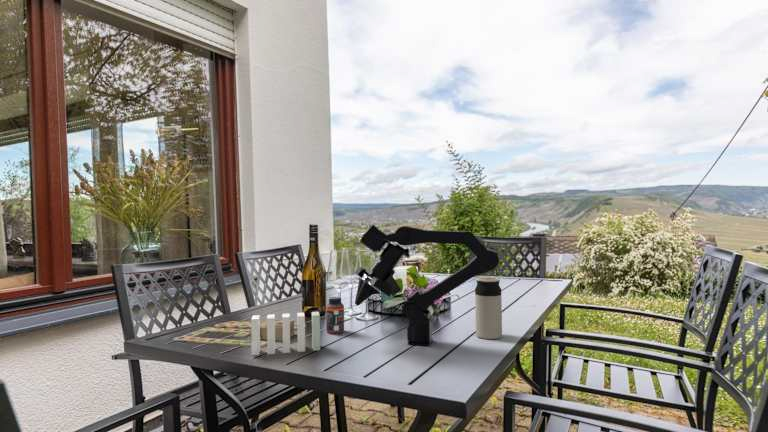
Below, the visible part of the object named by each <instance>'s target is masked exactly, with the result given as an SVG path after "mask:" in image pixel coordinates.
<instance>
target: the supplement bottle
mask: <svg viewBox="0 0 768 432" xmlns="http://www.w3.org/2000/svg"><path fill="white" fill-rule="evenodd" d="M325 321H326V322H325V325H326V326H325V328H326V333H328V334H333V335H335V334H341V333H342V334H343V332H344V331H345V305H344V304H343V303H342V297H341V296H331V297H329V298H328V304H326V305H325Z"/></svg>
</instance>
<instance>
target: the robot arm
mask: <svg viewBox="0 0 768 432" xmlns="http://www.w3.org/2000/svg"><path fill="white" fill-rule="evenodd" d="M392 242H393V243H397V244H393V243H392ZM359 243H360V244H362V245H363V246H365V247H366V248H367V249H369V250H370V251H372V252H373V253H376V252H378V253H380V255H379V256H378V257H374V259H373V264H372V265H371V267H370V268H367V269H366V268H364V267H362V266H361V267H360V266H359V267H357V269H356V270H355V271H354V273H355V274H356V275H357V276H358V284H357V291H356V295H355V300H354V304H355V305H356V306H360V305H361V304H362V303H363V302H365V301H366V300H368V298H370V297H371V296H373V295H380V294H382V293H383V294H384V295H386V297H388V298H390V297H391V296H392V297H394V296H396V295H397V294H398V293H400V292H401V291H402V289H401V287H400V286H399V284H398V282H397V280H396V279H395V278H394V275H395V273H396V272H395V270H394V269H395V267H396V266H397V265H398V263H399V262H400V260H401V259H402V258H403V257H405V258H406V259H409V258H410V256H411V255H410V248H404V247H405V246H412V245H421V244H425V243H427V244H429V243H430V244H432V243H433V244H453V245H454V244H456V245H465V246H466V247H467V248H468V249H469V250H470V251H471V252H472V253H473V255H475V256H474V257H473V258H472V259H471V260H470V261H469V262H468V263H467V264H466V265H464V266H462V267H461V268H460V269H458V270H456V271H455V272H454V273H452V274H451V275H449V276H447V277H446V278H444V279H443V280H441V281H440V282H438V283H437V284H435V285H433V286H432V287H430V288H428V289H427V290H424V291H421V289H420V287H419V288H417V289H416V291H414V292H413V293H410V294H408V295H407V297H406V300H405V301H404V303H403V305H402V312H403V315H404V316H405V317H406V318H408V320H409V321H408V326H407V327H406V333H407V334H406V335H407V336H406V337H407V338H406V340H407V344H408V345H414V346H426V347H427V346H430V345H431V344H432V342H433V341H434V338H433V335H432V333H433V332H432V320H429V319H430V317H431V313H432V312H431V311H430V310H429V308H430V306H432V305H433V303H434V302H437V301H438V300H439V299H441V298H442V297H444V296H445V295H447V294H448V293H450V292H451V291H453V290H455V289H457V288H458V287H460V286H462V285H463V284H465V283H466V282H467V281H469V280H471V279H472V278H474V277H476V276H479V275H483V274H486V273H488V272H491V271H493V270H495V269H496V268H498V266H499V263H500V260H499V259H500V258H499V255H498V253H497V252H495V250H493V249H491V248H487V247H486V246H485V245H484V244H483V243H482V242H481V241H480V240H479V239H478V238H477V237H476V236H475V233H474V232H472V231H471V230H465V231H459V230H458V231H457V230H435V229H434V230H430V229H422V228H419V227H414V226H411V225H410V226H409V225H403V226H399V227H398V228H397V229H396V230H395V232H394V233H393V232H392V233H391V232H390V233H388V234H387V233H385V232H384V231H382V230H381V229H379V227H378V226H377V225H375V224H371V226H370V228H368V230H367V231H366V232H364V234H363V235H362V237H361V239H360V240H359ZM386 244H387V245H386ZM381 292H382V293H381Z"/></svg>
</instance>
